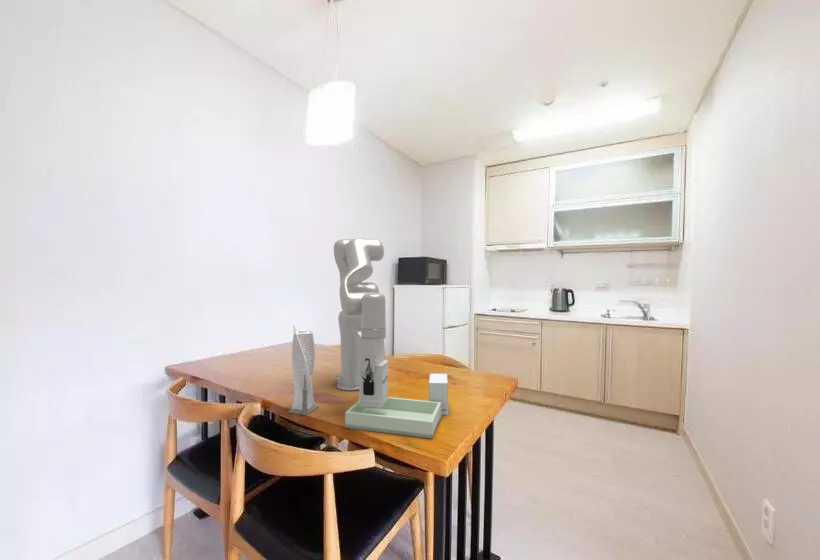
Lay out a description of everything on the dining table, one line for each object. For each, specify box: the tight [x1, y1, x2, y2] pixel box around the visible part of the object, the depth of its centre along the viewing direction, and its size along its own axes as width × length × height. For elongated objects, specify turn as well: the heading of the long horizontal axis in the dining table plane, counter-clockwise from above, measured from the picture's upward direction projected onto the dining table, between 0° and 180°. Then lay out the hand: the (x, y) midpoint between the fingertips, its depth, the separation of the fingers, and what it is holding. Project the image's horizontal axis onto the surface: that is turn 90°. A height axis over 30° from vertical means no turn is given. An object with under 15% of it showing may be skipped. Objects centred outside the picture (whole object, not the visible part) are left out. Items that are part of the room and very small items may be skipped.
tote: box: [344, 396, 443, 440], centre depth 99 cm, size 26×15×4 cm, turn 75°
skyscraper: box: [287, 325, 320, 416], centre depth 110 cm, size 8×8×28 cm
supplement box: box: [358, 359, 389, 408], centre depth 101 cm, size 7×7×13 cm
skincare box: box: [428, 373, 450, 416], centre depth 110 cm, size 10×6×10 cm, turn 174°
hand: (373, 390), depth 101 cm, fingers closed on supplement box, 7 cm apart
